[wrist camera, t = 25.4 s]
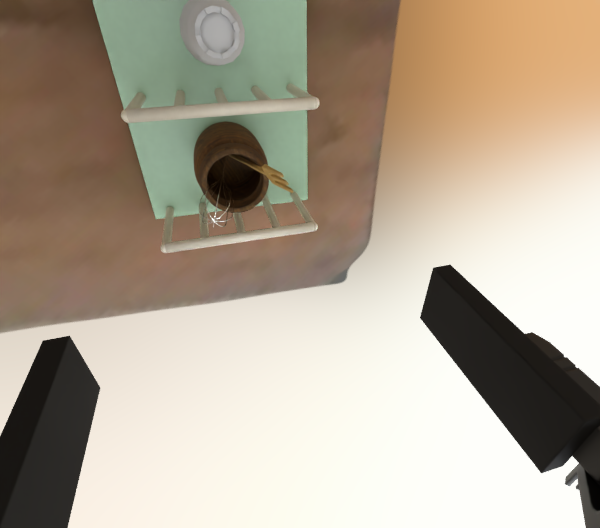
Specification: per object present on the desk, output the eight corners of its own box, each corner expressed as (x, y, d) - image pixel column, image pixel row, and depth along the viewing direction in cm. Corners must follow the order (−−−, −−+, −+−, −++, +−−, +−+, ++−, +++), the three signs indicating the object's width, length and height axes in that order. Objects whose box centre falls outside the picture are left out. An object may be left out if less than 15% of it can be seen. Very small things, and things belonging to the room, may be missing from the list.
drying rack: (75, -68, 22) (25, -108, 15) (302, -62, 25) (344, -93, 18) (156, 214, 33) (148, 262, 27) (305, 196, 36) (331, 234, 30)
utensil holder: (178, 144, 29) (172, 203, 20) (238, 102, 29) (262, 141, 19) (220, 197, 33) (232, 267, 24) (275, 160, 32) (310, 217, 23)
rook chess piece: (220, 78, 28) (229, 94, 21) (167, 35, 25) (160, 39, 19) (252, 26, 26) (272, 27, 20) (200, -24, 24) (204, -42, 17)
